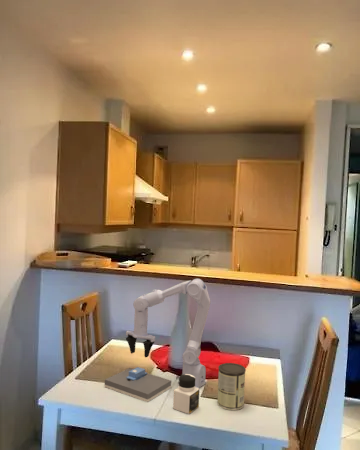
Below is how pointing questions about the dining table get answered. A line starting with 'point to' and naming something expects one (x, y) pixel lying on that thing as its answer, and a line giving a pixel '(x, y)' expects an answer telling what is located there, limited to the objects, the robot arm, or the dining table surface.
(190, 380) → the medicine bottle
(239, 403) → the coffee can
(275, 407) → the dining table surface
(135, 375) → the servo
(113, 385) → the grey flat block
